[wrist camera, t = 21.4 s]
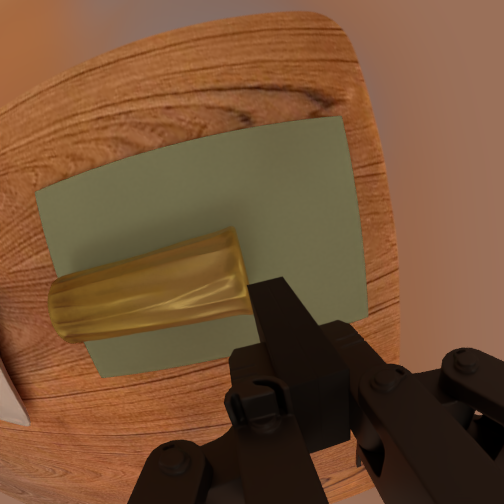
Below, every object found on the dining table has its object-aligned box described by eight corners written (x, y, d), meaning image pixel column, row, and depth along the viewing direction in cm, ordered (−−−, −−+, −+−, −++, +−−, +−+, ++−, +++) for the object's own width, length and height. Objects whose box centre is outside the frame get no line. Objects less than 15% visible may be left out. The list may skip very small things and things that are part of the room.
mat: (337, 117, 22) (341, 115, 22) (364, 313, 27) (368, 317, 26) (39, 191, 20) (34, 192, 20) (103, 373, 25) (101, 378, 24)
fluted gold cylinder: (231, 212, 22) (63, 258, 21) (241, 249, 16) (32, 301, 16) (248, 282, 24) (93, 317, 24) (261, 332, 19) (74, 366, 18)
